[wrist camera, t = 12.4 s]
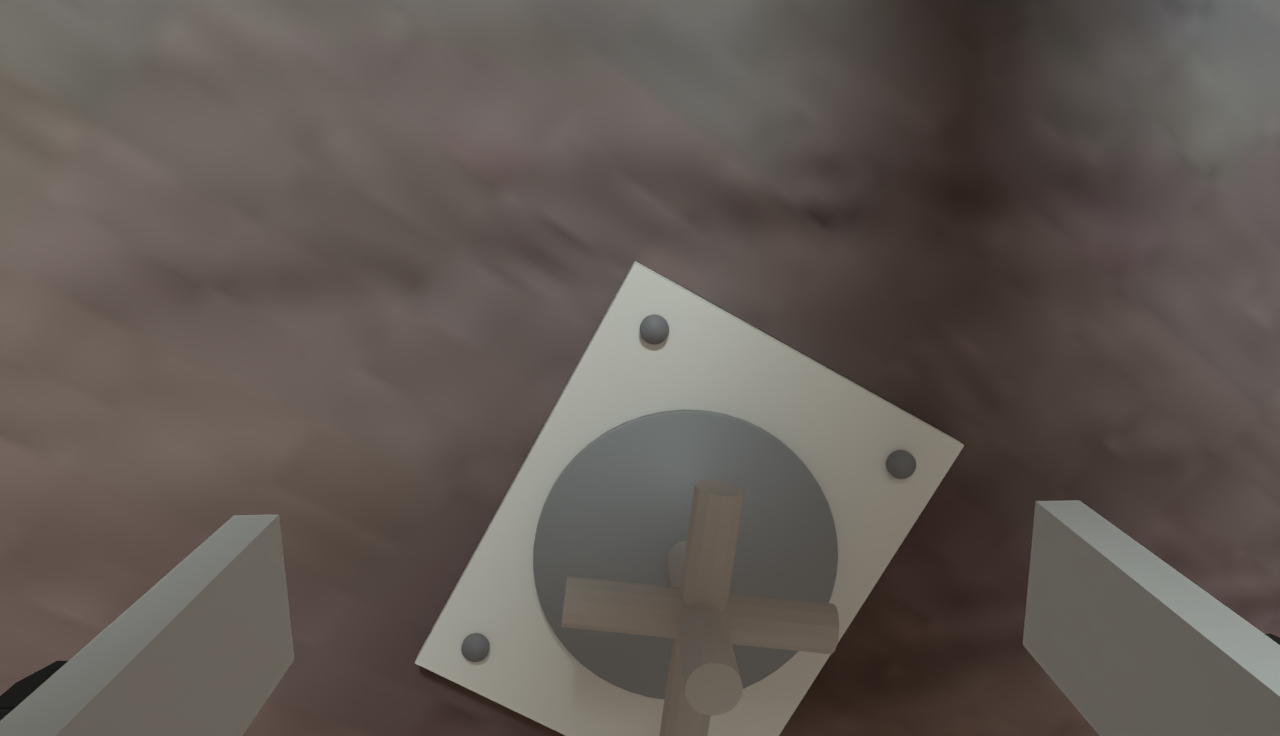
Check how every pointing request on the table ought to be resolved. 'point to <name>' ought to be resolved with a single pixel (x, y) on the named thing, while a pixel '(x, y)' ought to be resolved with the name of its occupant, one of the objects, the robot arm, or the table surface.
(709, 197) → the table surface
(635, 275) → the duct panel
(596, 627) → the pipe connector
